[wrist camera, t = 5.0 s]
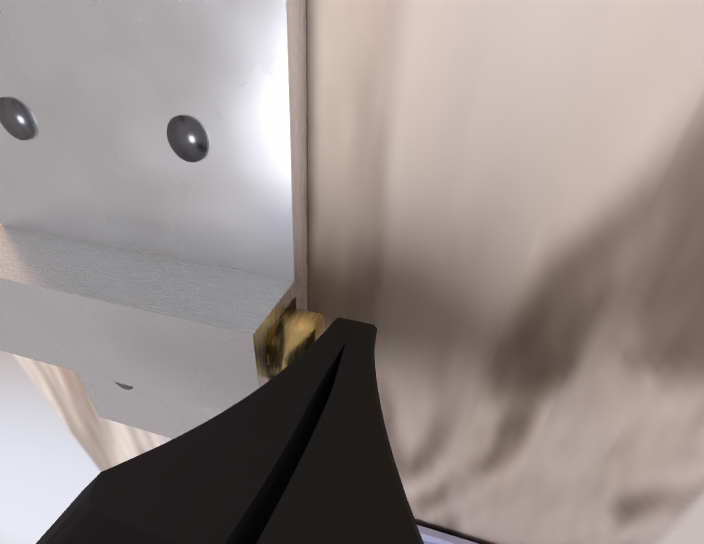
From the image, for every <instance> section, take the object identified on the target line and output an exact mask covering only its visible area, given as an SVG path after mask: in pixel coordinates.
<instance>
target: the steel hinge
mask: <svg viewBox="0 0 704 544" xmlns="http://www.w3.org/2000/svg"><path fill="white" fill-rule="evenodd" d="M0 222H1V224H2V226H0V350H2V351H5V352H9V353H12V354H16V355H19V356H23V357H27V358H30V359H34V360H37V361H41V362H45V363H48V364H52V365H56V366H59V367H63V368H66V369H70V370H74V371H76V372H77V374H78V376H79V378H80V380H81V382H82V384H83V386H84V388H85V390H86V392H87V394H88V396H89V398H90V400H91V402H92V404H93V406H94V408H95V410H96V412H97V413H98V415H99V417H102V418H106V419H109V420H112V421H116V422H119V423H122V424H125V425H129V426H132V427H135V428H139V429H142V430H145V431H149V432H152V433H155V434H159V435H162V436H165V437H169V438H172V439H174V438H176V437H178V436H180V435H182V434H184V433H186V432H188V431H189V430H191V429H193V428H195V427H197V426H199V425H201V424H203V423H204V422H206V421H208V420H210V419H211V418H213V417H215V416H217V415H218V414H220V413H222V412H223V411H225V410H226V409H228V408H230V407H231V406H233V405H234V404H236V403H237V402H239V401H241V400H242V399H244V398H245V397H247V396H248V395H250V394H251V393H253V392H254V391H255V390H257V389H258V388H260V387H261V386H262V385H264V384H265V383H266V382H268V381H269V380H270V379H272V378H271V376H270V372H269V364H268V361H267V350H266V339H265V338H266V336H267V335H268V333H269V332H270V331H271V329H272V328H273V326H274V325H275V324H276V322H277V321H278V319H279V318H282V317H283V315H284V314H285V313H286V312H287V311H288V310H289V309H291V308H295V309H300V310H305V311H308V276H307V82H306V0H0Z"/></svg>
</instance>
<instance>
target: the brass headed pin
mask: <svg viewBox="0 0 704 544" xmlns="http://www.w3.org/2000/svg"><path fill="white" fill-rule="evenodd" d="M325 331H326V320H325V316H324V315H323V314H319V313H315V312H310V311H305V310H300V309H295V308H291V309H289V310H288V311H287V312H286V313H285V314H284V315H283V317H282V318H279V319H278V321H277V322H276V324H275V325H274V326H273V328H272V329H271V331H270V332H269V333H268V335H267V336H266V338H265V339H266V350H267V361H268V364H269V372H270V376H271V378H273V377H274V376H276V375H277V374H278V373H279V372H281V371H282V370H283V369H284V368H285V367H287V366H288V365H289V364H290V363H291V362H293V361H294V360H295V359H296V358H297V357H298V356H300V355H301V354H302V353H303V352H304V351H305V350H306V349H307V348H308V347H309V346H310V345H312V344H313V343H314V342H315V341H316V340H317V339H318V338H319V337H320V336H321V335H322V334H323V333H324V332H325Z"/></svg>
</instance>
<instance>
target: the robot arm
mask: <svg viewBox="0 0 704 544" xmlns="http://www.w3.org/2000/svg"><path fill="white" fill-rule="evenodd" d="M376 333H377V328H376V327H375V325H372V324H367V323H363V322H358V321H353V320H348V319H343V318H338V319H336V320H335V321H334V322H333V323H332V324H331V325H330V326H329V327H328V329H327V330H326V331H325V332H324V333H323V334H322V335H321V336H320V337H319V338H318V339H317V340H316V341H315V342H314V343H313V344H312V345H310V346H309V347H308V348H307V349H306V350H305V351H304V352H303V353H302V354H301V355H300V356H298V357H297V358H296V359H295V360H294V361H293V362H291V363H290V364H289V365H288V366H287V367H285V368H284V369H283V370H282V371H281V372H279V373H278V374H277V375H276V376H274V377H273V378H272V379H270V380H269V381H268V382H266V383H265V384H264V385H262V386H261V387H260V388H258V389H257V390H255V391H254V392H253V393H251V394H250V395H248V396H247V397H245V398H244V399H242V400H241V401H239V402H237V403H236V404H234V405H233V406H231V407H230V408H228V409H226V410H225V411H223V412H222V413H220V414H218V415H217V416H215V417H213V418H211V419H210V420H208V421H206V422H204V423H203V424H201V425H199V426H197V427H195V428H193V429H191V430H189V431H188V432H186V433H184V434H182V435H180V436H178V437H176V438H174V439H172V440H171V441H169V442H167V443H165V444H163V445H161V446H158V447H156V448H154V449H152V450H150V451H148V452H145V453H143V454H141V455H139V456H136V457H134V458H132V459H130V460H128V461H125V462H123V463H121V464H119V465H117V466H114V467H112V468H110V469H107V470H105V471H102V472H101V473H100V474H99V475H98V476H97V477H96V478H95V479H94V480H93V481H92V482H91V483H90V484H89V485H88V486H87V487H86V488H85V489H84V490H83V491H82V492H81V493H80V494H79V496H78V497H77V498H76V499H75V500H74V501H73V502H72V503H71V505H70V506H69V507H68V508H67V509H66V510H65V511H64V513H63V514H62V515H61V516H60V517H59V518H58V519H57V520H56V522H55V523H54V524H53V525H52V526H51V527H50V528H49V529H48V530H47V532H46V533H45V534H44V535H43V536H42V537H41V538H40V540H39V541H38V542H37V543H36V544H478V543H475V542H472V541H469V540H465V539H462V538H459V537H456V536H452V535H449V534H446V533H443V532H439V531H436V530H433V529H430V528H426V527H423V526H420V525H417V524H416V522H415V519H414V516H413V514H412V511H411V508H410V506H409V503H408V500H407V497H406V494H405V491H404V488H403V485H402V482H401V479H400V476H399V473H398V470H397V467H396V464H395V461H394V458H393V454H392V450H391V447H390V443H389V440H388V436H387V432H386V428H385V424H384V419H383V415H382V410H381V405H380V399H379V394H378V387H377V380H376V370H375V358H374V347H375V340H376Z"/></svg>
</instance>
